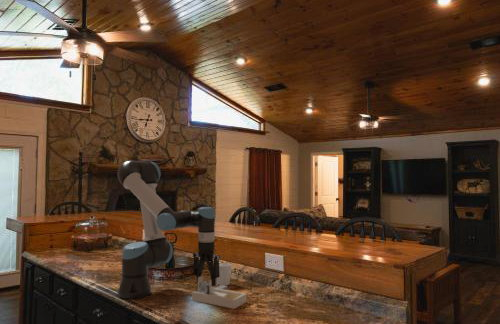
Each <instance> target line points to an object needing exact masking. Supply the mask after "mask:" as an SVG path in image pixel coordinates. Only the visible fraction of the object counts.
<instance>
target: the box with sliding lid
mask: <svg viewBox="0 0 500 324" xmlns="http://www.w3.org/2000/svg"><path fill="white" fill-rule="evenodd" d="M191 300H192V301H196V302H199V303H204V304H205V303H206V304H211V305H213V306H214V305H215V306H220V307H223V308H224V307H225V308H229V309H236V308H238V307H240V306H242V305H244V304H246V303H247V293H244V292H238V291H233V290H228V289H227V290H223V289H218V288H216V287H214V293H212V294H205V293H200V292H198V291H195V290H194V291H192V292H191Z"/></svg>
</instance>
